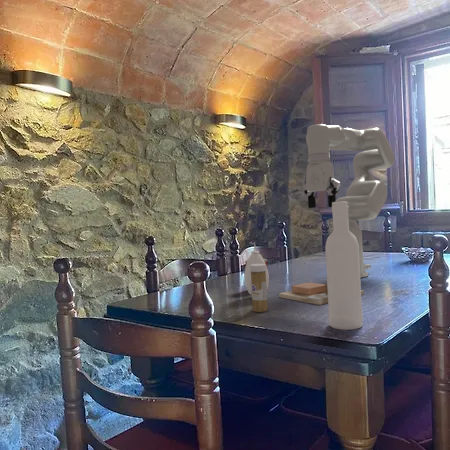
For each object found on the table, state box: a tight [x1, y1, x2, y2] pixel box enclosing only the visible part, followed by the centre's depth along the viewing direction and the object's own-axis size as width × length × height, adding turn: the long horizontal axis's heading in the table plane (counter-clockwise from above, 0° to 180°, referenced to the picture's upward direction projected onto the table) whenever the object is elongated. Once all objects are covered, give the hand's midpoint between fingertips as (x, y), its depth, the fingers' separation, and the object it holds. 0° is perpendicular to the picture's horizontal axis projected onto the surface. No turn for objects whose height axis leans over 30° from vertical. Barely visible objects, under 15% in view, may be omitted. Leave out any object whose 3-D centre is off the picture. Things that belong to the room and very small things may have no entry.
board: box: [278, 289, 365, 306], centre depth 146 cm, size 20×18×1 cm
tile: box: [291, 282, 325, 295], centre depth 147 cm, size 2×8×8 cm
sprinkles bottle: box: [250, 264, 269, 313], centre depth 130 cm, size 5×5×14 cm
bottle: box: [324, 201, 364, 331], centre depth 109 cm, size 8×8×30 cm
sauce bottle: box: [244, 242, 270, 296], centre depth 148 cm, size 8×8×18 cm
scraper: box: [307, 283, 328, 301], centre depth 139 cm, size 15×5×4 cm, turn 124°
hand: (321, 207), depth 163 cm, fingers open, 9 cm apart
